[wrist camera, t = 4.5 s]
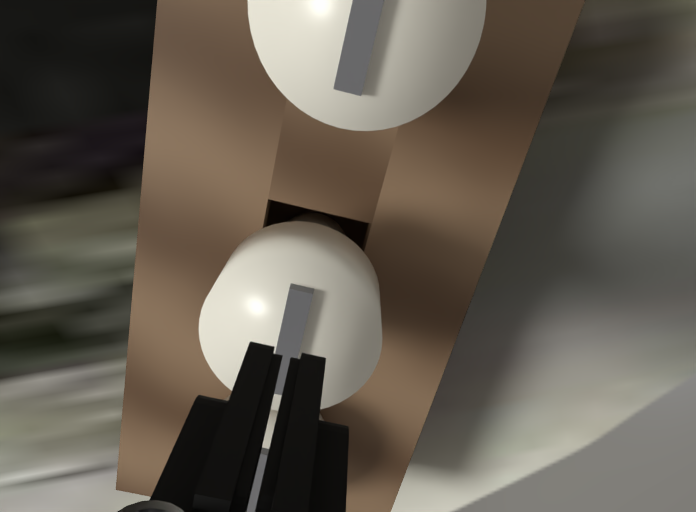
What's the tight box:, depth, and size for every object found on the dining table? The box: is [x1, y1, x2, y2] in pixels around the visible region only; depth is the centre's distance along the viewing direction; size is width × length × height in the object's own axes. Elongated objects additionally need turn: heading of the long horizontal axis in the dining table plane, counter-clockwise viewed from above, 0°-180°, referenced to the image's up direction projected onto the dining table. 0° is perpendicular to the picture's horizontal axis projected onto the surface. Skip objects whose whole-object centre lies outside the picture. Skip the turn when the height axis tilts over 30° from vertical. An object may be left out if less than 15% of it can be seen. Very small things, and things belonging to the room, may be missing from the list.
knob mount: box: [116, 0, 585, 512], centre depth 21 cm, size 26×12×5 cm, turn 166°
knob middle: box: [199, 213, 382, 411], centre depth 17 cm, size 5×5×7 cm
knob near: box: [248, 0, 486, 131], centre depth 13 cm, size 5×5×7 cm
